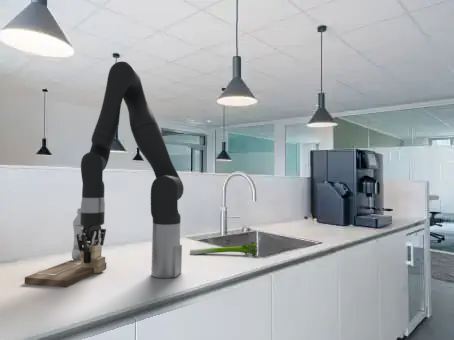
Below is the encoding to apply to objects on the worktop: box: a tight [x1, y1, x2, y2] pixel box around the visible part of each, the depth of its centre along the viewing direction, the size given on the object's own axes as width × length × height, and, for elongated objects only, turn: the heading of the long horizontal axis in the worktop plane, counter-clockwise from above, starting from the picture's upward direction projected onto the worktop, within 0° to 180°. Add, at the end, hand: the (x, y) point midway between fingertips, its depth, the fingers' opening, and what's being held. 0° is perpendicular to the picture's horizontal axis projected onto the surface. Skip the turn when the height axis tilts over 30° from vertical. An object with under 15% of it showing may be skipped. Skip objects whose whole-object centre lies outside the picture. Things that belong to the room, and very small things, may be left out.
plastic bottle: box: [71, 207, 90, 261], centre depth 123 cm, size 6×7×20 cm
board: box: [24, 259, 107, 289], centre depth 104 cm, size 14×21×2 cm, turn 170°
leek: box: [189, 241, 259, 257], centre depth 137 cm, size 6×7×30 cm
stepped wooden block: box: [80, 244, 106, 274], centre depth 108 cm, size 8×4×8 cm, turn 80°
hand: (91, 261), depth 108 cm, fingers closed on stepped wooden block, 4 cm apart
